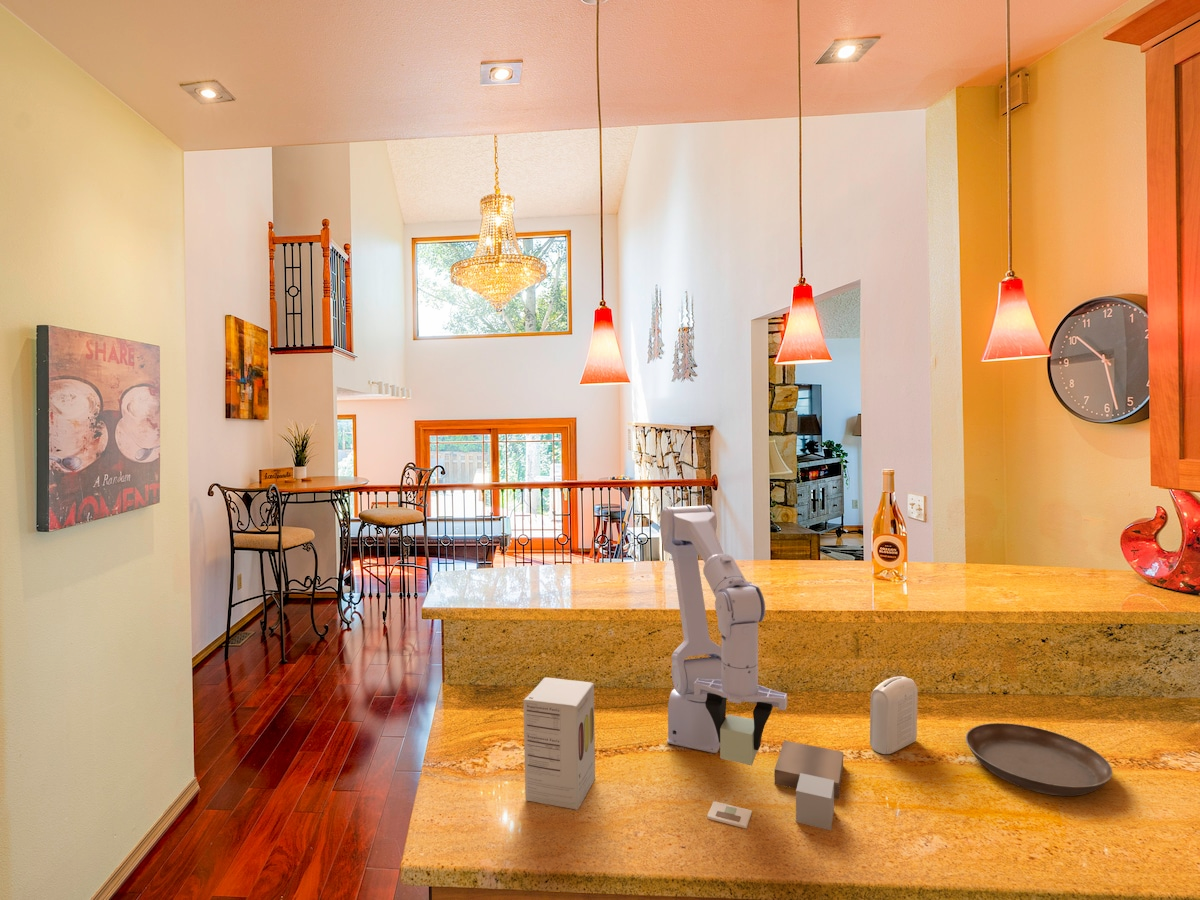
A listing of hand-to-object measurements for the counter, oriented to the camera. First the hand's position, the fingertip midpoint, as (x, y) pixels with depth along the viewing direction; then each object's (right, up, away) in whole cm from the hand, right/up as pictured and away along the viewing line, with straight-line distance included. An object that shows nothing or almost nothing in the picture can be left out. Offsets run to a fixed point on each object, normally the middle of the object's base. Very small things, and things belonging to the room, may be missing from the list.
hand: (739, 743), depth 103 cm
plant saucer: (+52, -8, +7) cm, 53 cm away
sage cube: (0, -2, 0) cm, 2 cm away
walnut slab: (+13, -8, +5) cm, 16 cm away
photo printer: (+31, -7, +15) cm, 35 cm away
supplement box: (-29, -9, +2) cm, 30 cm away
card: (-3, -9, -5) cm, 10 cm away
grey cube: (+10, -9, -5) cm, 15 cm away
